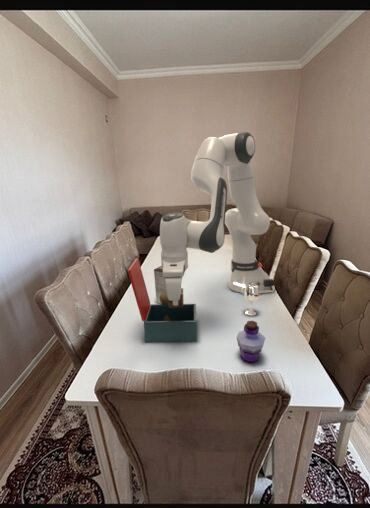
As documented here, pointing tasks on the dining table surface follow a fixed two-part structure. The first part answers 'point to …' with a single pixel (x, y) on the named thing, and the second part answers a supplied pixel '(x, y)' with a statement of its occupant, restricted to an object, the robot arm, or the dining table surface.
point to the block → (180, 301)
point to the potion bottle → (250, 342)
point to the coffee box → (159, 283)
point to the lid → (139, 288)
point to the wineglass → (251, 296)
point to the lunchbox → (170, 324)
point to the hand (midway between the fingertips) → (176, 300)
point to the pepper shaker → (164, 301)
